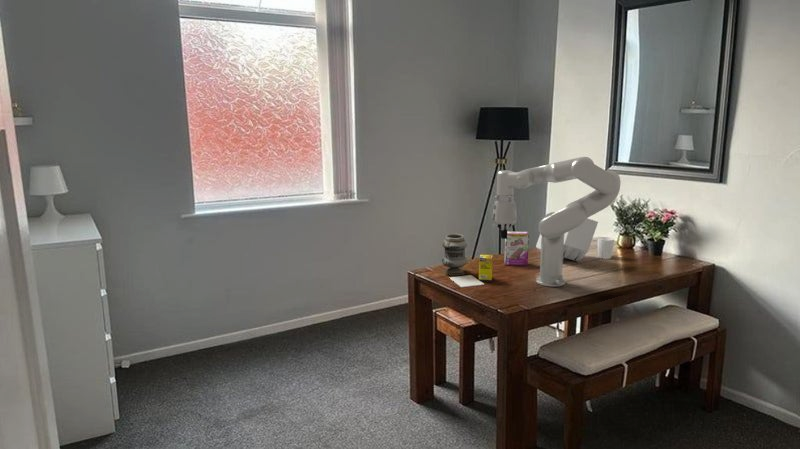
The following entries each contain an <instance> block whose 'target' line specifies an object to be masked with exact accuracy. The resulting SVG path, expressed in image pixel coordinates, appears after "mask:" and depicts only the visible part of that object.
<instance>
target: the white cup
mask: <svg viewBox="0 0 800 449" xmlns="http://www.w3.org/2000/svg"><path fill="white" fill-rule="evenodd" d="M614 241H615V238H613V237H611V236H610V237H608V236H600V237H599V236H598V237H597V250H596V251H597V258H598V259H602V258H603V260H610V259H612V256H613V249H614V243H615V242H614Z"/></svg>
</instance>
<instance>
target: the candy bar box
mask: <svg viewBox="0 0 800 449" xmlns="http://www.w3.org/2000/svg"><path fill="white" fill-rule="evenodd" d="M529 238H530V234H529V231H509V230H507V238H506V239H504V240H505V241H504V265H505V266H525V267H527V266H529V265H528V264H529V263H528V260H529V245H530V244H529V241H530V239H529Z"/></svg>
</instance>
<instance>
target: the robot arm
mask: <svg viewBox="0 0 800 449" xmlns="http://www.w3.org/2000/svg"><path fill="white" fill-rule="evenodd" d="M496 176H497V179H496V194H495V195H494V196H493V200H495V201H494V204H493V210H492V226H493V227H497V228H498V229H499V237H500V239H502V240H505V239H506V238H507V231H509V228H510V227H511V226H514V225H516V223H517V219H518V218H517V215H518V214H517V204H516V201H515V199H514V198H515V196H514V195H515V189H518V190H519V189H520V190H523V189H526V188H528V187H530V186H532V185H533V186H534V185H539V184H544V183H545V184H546V183H562V182H567V181H571V180H576V179H577V180H579V181H581V182H582V183H583V184H585V185H587V186H589V187H591V188H592V189H594V190H593V191H592V192H589V193H588V194H586V195H585V196H583V197H581V198H578V199H577V200H574V201H572V202H570V203H568V204H567V205H566V206H565V207H563V208H561V209H559V210H557V211H556V212H554V211H553V212H552V211H551V212H548V213H547V214H545V215H544V216H543V217H542V219H541V220H540V221H539V223H538V232H539V235H540V234H541V235H542V238H541V250H540V256H539V257H540V262H539V277H536V278H535V283H537V284H538V285H540V286H545V287H551V288H553V287H554V288H555V287H563V286H564V285H565V284H566V279H564V277H563V262H564V259H563V247H564V234H565V233H566V232H569V231H571V230H573V229H575V228H577V227H578V226H580V225H581V224H582V223H583V222H584V221H585V219H586V218H588V219H589V218H590V217H591V216H594V215H596V214H597V213H600V212H601V211H603V210H605V209H606V208H608V207H609V206H610V205H611V204H612V203H613V202H614V201H615V200H616V199H617V197H618V195H619V193H620V190H621V177H620V174H619V173H618V172H616V171H614V170H606V169H603V168H602V167H600V166H598V165H596V164H595V163H594V161H593V159H591V158H590V157H588V156H579V157H576V158H571V159H566V160H563V161H561V160H560V161H557V162H553V163H549V164H545V165H540V166H535V167H531V168H526V169H522V170H520V171H517V172H515V171H512V170H503V169H502V170H499V171H498V172H497V175H496Z"/></svg>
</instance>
